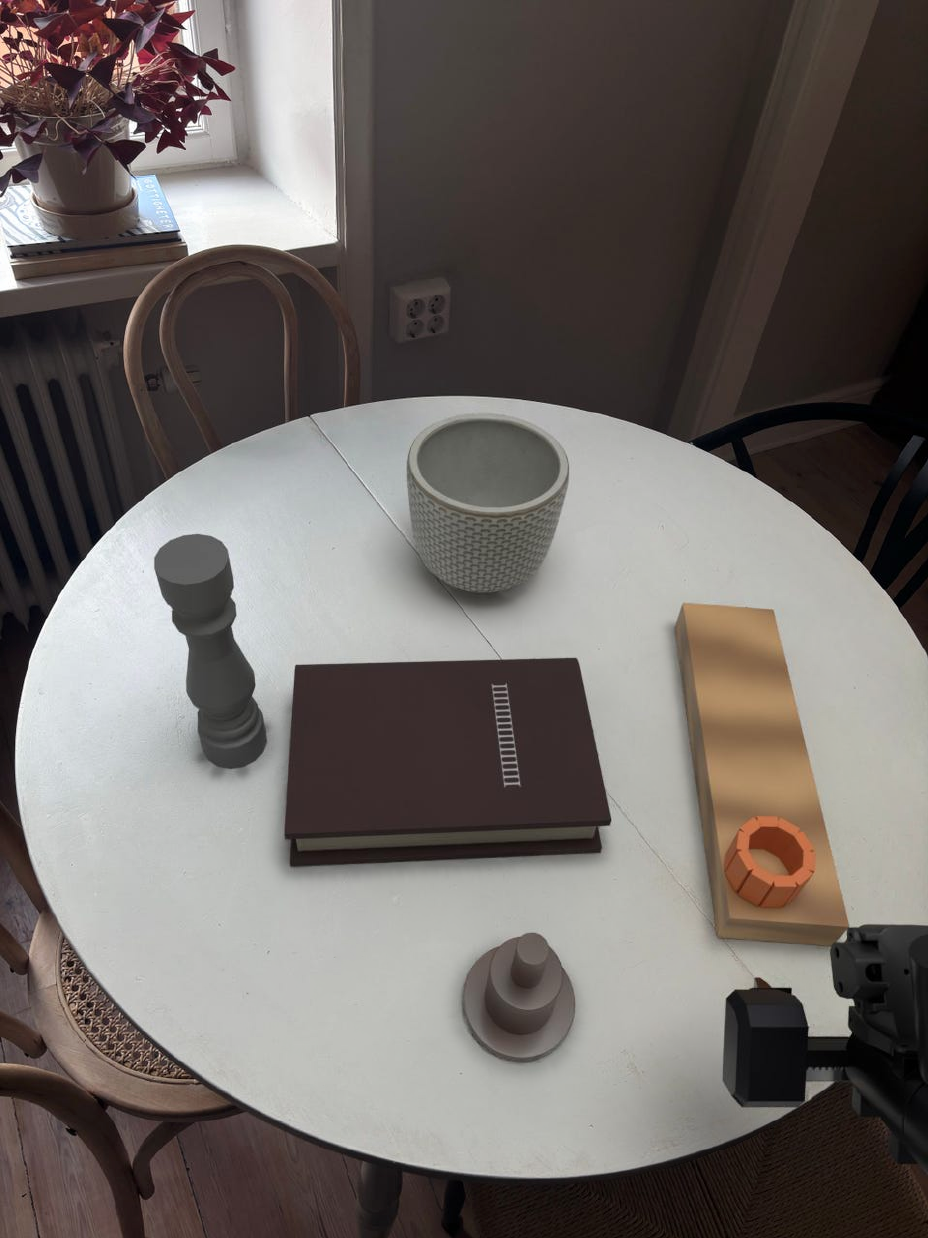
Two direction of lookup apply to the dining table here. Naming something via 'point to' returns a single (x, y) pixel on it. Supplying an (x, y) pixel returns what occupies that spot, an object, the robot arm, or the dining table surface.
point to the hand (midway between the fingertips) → (822, 984)
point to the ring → (780, 843)
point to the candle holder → (212, 648)
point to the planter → (485, 499)
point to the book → (442, 762)
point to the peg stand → (519, 999)
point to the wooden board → (753, 768)
